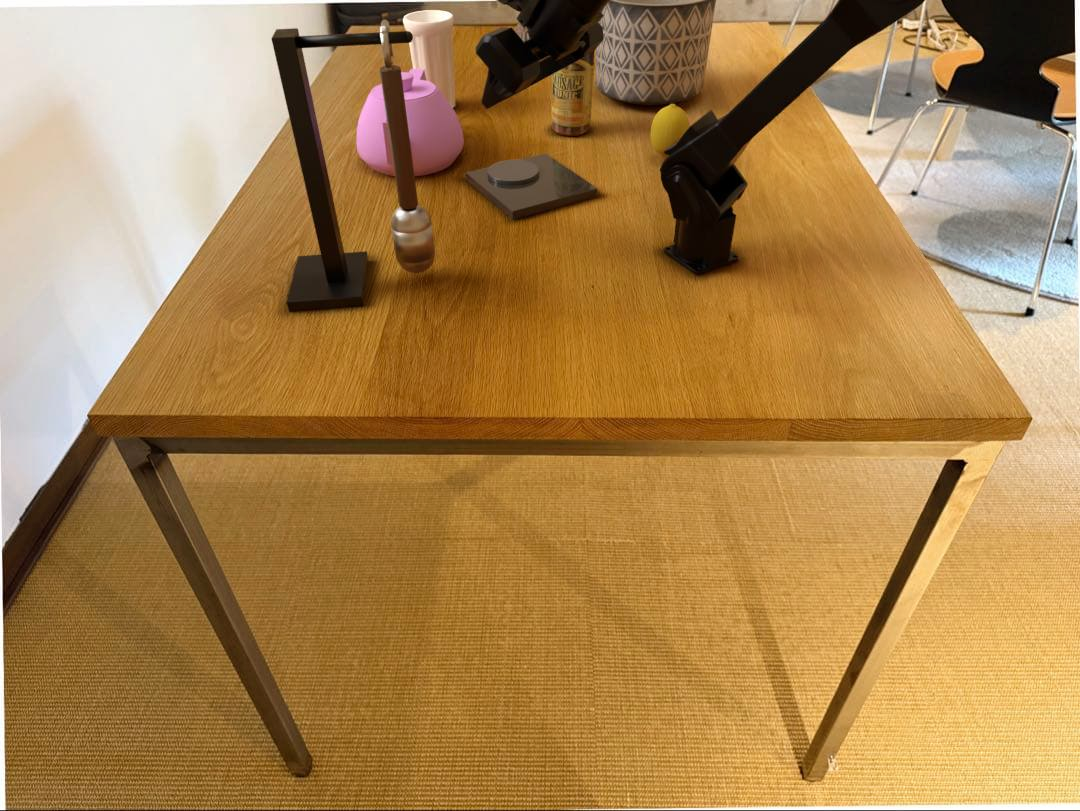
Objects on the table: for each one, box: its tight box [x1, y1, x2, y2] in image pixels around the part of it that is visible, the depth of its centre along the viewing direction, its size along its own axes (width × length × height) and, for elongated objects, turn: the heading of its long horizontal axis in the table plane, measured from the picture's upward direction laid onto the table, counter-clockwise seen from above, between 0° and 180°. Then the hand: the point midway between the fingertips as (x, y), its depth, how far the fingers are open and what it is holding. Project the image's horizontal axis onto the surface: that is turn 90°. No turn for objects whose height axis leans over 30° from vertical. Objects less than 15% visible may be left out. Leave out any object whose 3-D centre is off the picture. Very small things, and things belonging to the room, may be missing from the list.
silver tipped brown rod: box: [379, 19, 436, 274], centre depth 78 cm, size 4×4×26 cm
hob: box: [464, 152, 599, 220], centre depth 104 cm, size 14×13×2 cm
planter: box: [595, 0, 717, 106], centre depth 127 cm, size 19×19×16 cm
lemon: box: [650, 103, 691, 160], centre depth 109 cm, size 6×6×8 cm
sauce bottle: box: [550, 41, 596, 137], centre depth 114 cm, size 7×6×20 cm
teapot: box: [355, 68, 465, 177], centre depth 109 cm, size 22×16×12 cm
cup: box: [402, 9, 456, 109], centre depth 124 cm, size 8×8×14 cm
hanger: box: [271, 27, 413, 312], centre depth 78 cm, size 16×10×26 cm, turn 97°
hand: (506, 93), depth 91 cm, fingers open, 9 cm apart
